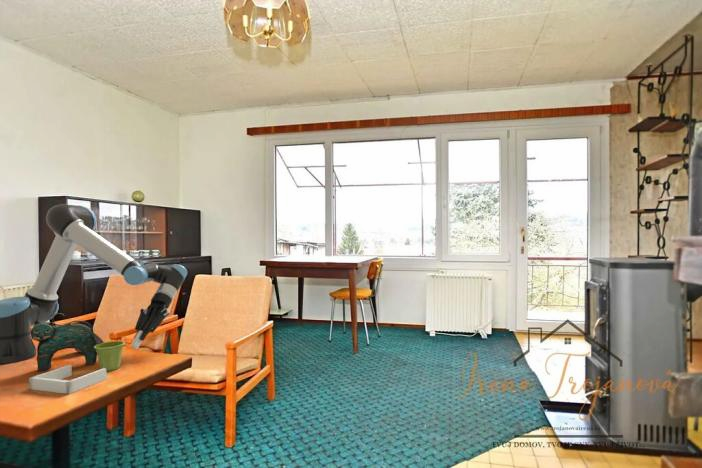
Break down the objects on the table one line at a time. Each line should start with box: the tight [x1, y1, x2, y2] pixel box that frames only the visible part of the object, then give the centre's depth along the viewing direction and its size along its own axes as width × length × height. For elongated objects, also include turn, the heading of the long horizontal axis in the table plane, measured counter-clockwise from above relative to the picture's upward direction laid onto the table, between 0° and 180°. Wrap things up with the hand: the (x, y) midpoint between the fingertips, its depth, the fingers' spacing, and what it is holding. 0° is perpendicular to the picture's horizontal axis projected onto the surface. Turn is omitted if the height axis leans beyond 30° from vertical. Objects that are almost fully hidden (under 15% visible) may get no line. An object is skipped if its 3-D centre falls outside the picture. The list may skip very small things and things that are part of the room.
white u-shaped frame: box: [28, 364, 108, 395], centre depth 134 cm, size 16×13×4 cm
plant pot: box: [94, 340, 125, 372], centre depth 149 cm, size 9×9×9 cm
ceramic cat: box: [30, 312, 98, 373], centre depth 153 cm, size 20×6×20 cm, turn 112°
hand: (133, 347), depth 159 cm, fingers closed
